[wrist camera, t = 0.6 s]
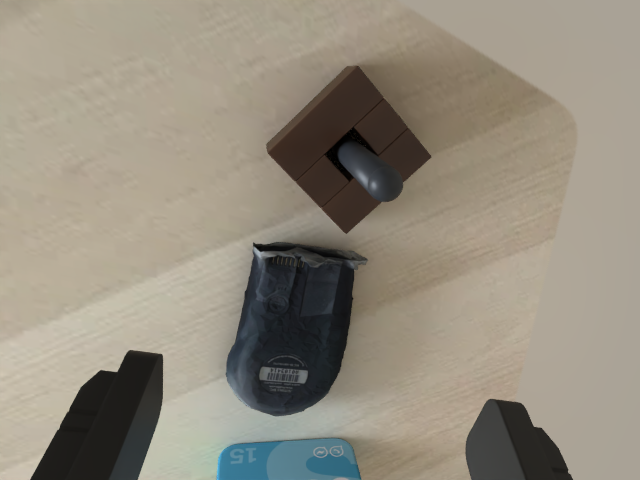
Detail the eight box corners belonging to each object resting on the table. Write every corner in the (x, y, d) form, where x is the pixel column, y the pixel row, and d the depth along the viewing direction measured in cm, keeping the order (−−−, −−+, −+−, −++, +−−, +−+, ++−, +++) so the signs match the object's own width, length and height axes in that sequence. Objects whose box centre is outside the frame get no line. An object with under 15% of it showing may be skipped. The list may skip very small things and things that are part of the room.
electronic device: (240, 231, 38) (218, 403, 41) (251, 247, 33) (225, 443, 35) (349, 241, 41) (322, 401, 44) (374, 258, 36) (342, 438, 38)
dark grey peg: (325, 146, 35) (364, 187, 23) (343, 129, 35) (392, 162, 23) (341, 164, 36) (387, 213, 24) (359, 147, 36) (414, 188, 23)
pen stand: (265, 144, 35) (267, 152, 31) (347, 65, 33) (357, 65, 30) (337, 219, 37) (346, 234, 34) (416, 149, 36) (432, 156, 33)
